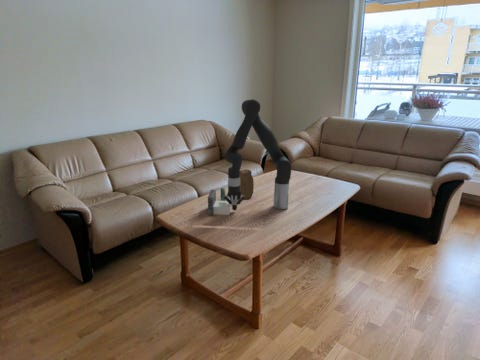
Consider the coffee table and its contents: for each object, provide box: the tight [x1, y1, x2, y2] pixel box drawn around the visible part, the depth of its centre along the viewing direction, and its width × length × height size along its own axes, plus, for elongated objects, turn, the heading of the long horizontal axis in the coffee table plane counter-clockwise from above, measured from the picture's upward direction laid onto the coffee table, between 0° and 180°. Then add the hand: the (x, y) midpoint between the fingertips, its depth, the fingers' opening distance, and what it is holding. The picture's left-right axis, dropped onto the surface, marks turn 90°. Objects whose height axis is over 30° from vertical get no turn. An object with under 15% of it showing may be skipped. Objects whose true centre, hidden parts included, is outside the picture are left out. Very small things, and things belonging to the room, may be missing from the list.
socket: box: [213, 200, 232, 216], centre depth 214 cm, size 10×10×5 cm
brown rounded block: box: [238, 168, 255, 200], centre depth 238 cm, size 11×8×20 cm
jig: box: [207, 189, 217, 216], centre depth 213 cm, size 20×13×13 cm, turn 86°
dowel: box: [220, 187, 226, 201], centre depth 225 cm, size 3×3×12 cm
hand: (234, 209), depth 214 cm, fingers closed
